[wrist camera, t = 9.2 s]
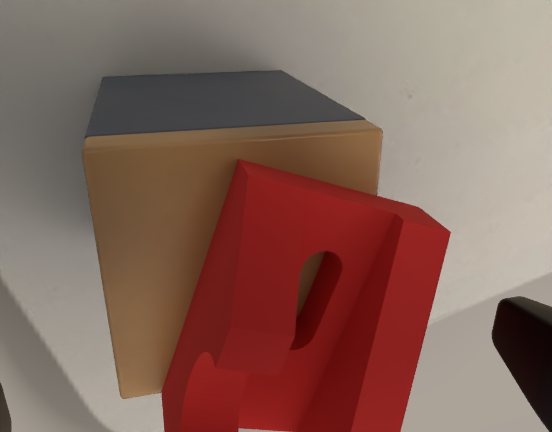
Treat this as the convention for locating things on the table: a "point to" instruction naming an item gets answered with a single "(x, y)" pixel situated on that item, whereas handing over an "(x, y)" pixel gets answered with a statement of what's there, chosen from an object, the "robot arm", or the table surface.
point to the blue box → (208, 103)
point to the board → (192, 219)
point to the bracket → (305, 310)
